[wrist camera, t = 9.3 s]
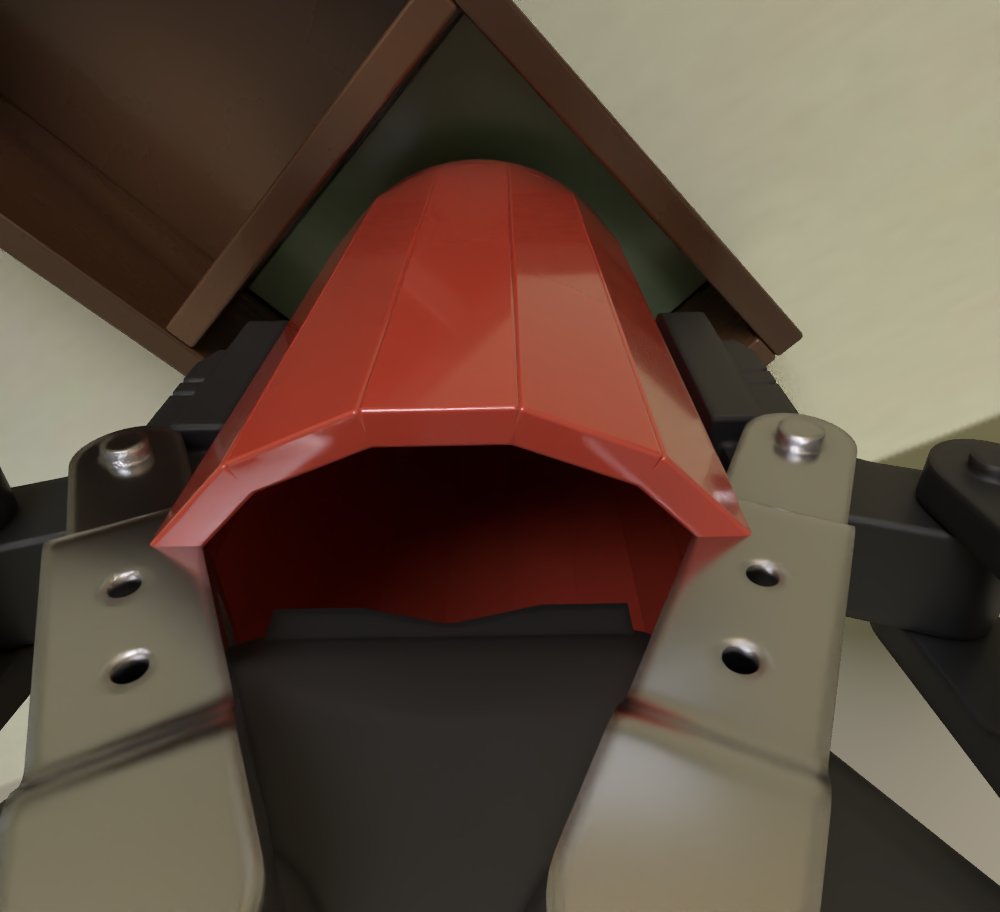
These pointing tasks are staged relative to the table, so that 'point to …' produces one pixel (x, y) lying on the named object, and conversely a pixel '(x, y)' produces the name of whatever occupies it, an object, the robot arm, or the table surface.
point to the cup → (461, 422)
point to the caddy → (303, 154)
